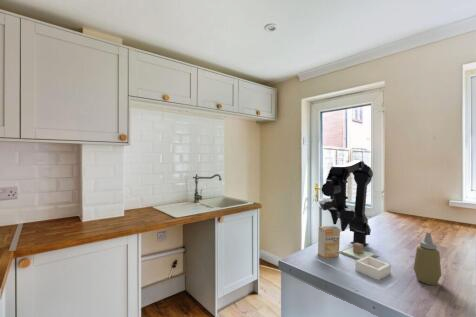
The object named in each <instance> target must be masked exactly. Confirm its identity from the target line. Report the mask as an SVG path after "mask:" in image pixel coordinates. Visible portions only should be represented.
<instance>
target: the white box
mask: <svg viewBox="0 0 476 317" xmlns="http://www.w3.org/2000/svg"><path fill="white" fill-rule="evenodd" d="M354 268H355V271H356V272H359V273H361V274H364V275H366V276H368V277H371V278H373V279H375V280H378V281H381V280H383V279H384V278H386V277H388V276H389V275H391V273H392V272H391V268H392V265H391V263H388V262H385V261H382V260H380V259H378V258H376V259H374V258H372V257H369V256H366V257H364V258H361V259H359V260H355V267H354Z"/></svg>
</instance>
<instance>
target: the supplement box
mask: <svg viewBox="0 0 476 317" xmlns="http://www.w3.org/2000/svg"><path fill="white" fill-rule="evenodd" d="M340 238H341V227H340V228H339V227H338V226H336V225H327V226H326V225H325V226H324V225H323V226H318V238H317V239H318V240H317V241H318V242H317V255H319V256H320V257H322V258H323V259H325V258H326V259H327V258H333V257H339V256H340V254H339V252H340V244H341V243H340V241H341V240H340Z"/></svg>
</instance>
